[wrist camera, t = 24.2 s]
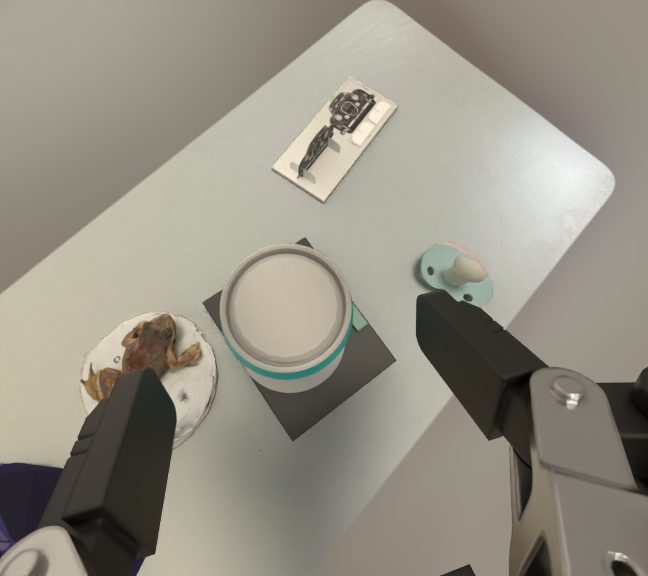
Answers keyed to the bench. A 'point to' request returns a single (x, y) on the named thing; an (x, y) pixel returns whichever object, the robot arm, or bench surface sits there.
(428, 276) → the pacifier
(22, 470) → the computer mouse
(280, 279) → the beverage can
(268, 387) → the scale
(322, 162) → the car cutout
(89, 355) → the frog figurine
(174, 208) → the bench surface
